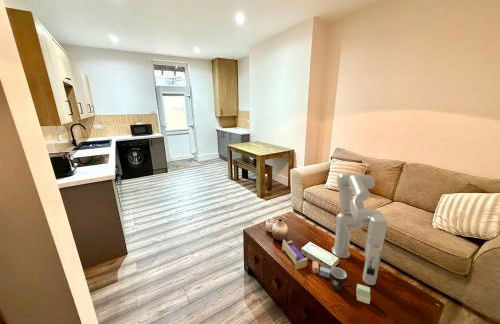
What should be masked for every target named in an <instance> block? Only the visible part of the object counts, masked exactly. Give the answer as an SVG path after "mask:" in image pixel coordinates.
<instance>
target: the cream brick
mask: <svg viewBox="0 0 500 324" xmlns="http://www.w3.org/2000/svg"><path fill="white" fill-rule="evenodd" d="M371 299H372V298H371V295H370V296H369V298H367V297H364V296H361V295H358V294H357V293H356V301H359V302H361V303H364V304H368V305H370V302H371Z"/></svg>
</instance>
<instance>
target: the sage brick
mask: <svg viewBox="0 0 500 324" xmlns="http://www.w3.org/2000/svg"><path fill="white" fill-rule="evenodd" d="M357 294H358V295H361V296H364V297H367V298H369V296H370V297H371V287H369V286H366V285H363V284H359V283H357V284H356V295H357Z"/></svg>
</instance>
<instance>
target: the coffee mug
mask: <svg viewBox="0 0 500 324" xmlns="http://www.w3.org/2000/svg"><path fill="white" fill-rule="evenodd" d="M345 282H349V283H350V284H351V285H345ZM330 287H331V289H332V290H333V291H335V292H342V290H343V288H351V287H353V282H352V281H351V280H350V279H347V272H346V271H345V270H344V269H342V268H340V267H336V266H334V267H331V268H330Z"/></svg>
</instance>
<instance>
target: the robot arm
mask: <svg viewBox="0 0 500 324" xmlns="http://www.w3.org/2000/svg"><path fill="white" fill-rule="evenodd" d="M336 179H337V180H336V183H337V187H338V207H339V210H340V211H342V212H339V213H338V214H337V215H336V216H335V217H336V226H335V227H336V228H335V238H334V245H333V246H332V247H331V252H332V254H333V255H335V257H337V256H338V258H340V259H341V258H342V259H348V258H350V256H351V252H350V251H349V247H350V241H351V230H350V229H349V228H358V229H359V228H362V227H363V226H364V224H366V225H368V226H367V232H366V237H365V242H366V243H365V249H364V256H365V257H364V258H365V259H364V260H365V261H366V262H368V263H369V267H368V268H367V274H369V275H372V276H374V273H375V265H376V264H377V262H378V257H379V251H380V247H382V248H383V246H384V242H385V237H386V232H387V228H388V220H387V219H386V218H384V216H383V213H382V211H380V210H378V209H367V208H365V204H364V201H366V200H368V199H369V198H370V196H371V193H370V191H369V189H374V187H375V185H376V182H375V178H374V176H372V174H371V175H370V174H360V173H359V174H358V173H356V174H355V173H341V174H339V175H338V176H337V178H336ZM365 261H364V262H365ZM370 263H371V264H372V265H371V266H370Z"/></svg>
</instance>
